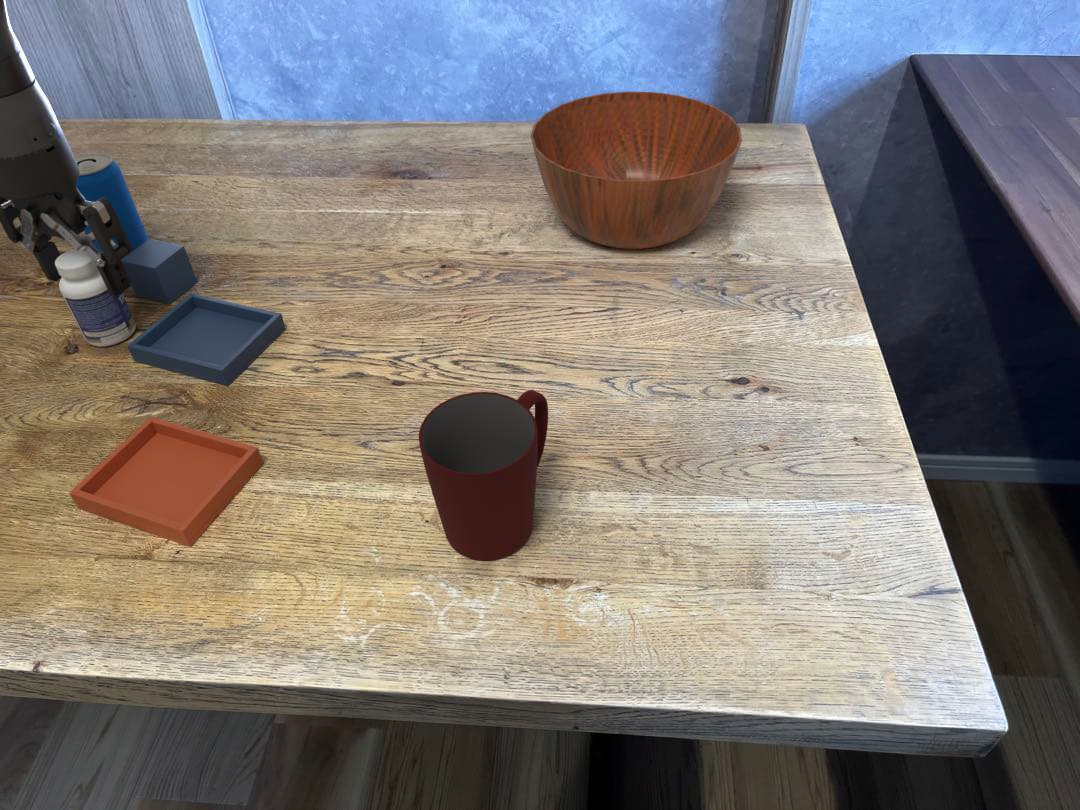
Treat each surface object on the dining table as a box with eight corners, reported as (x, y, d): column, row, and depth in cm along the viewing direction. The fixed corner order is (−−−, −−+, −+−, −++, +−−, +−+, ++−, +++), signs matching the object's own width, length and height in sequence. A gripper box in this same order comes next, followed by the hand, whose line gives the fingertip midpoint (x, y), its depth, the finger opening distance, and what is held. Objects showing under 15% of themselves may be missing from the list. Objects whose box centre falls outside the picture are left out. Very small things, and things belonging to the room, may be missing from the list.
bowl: (684, 292, 92) (694, 200, 85) (497, 240, 102) (490, 154, 94) (757, 196, 108) (770, 111, 100) (589, 159, 118) (589, 79, 110)
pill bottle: (146, 332, 90) (112, 256, 84) (98, 355, 87) (59, 278, 81) (124, 313, 93) (90, 238, 87) (78, 334, 90) (38, 258, 84)
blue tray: (134, 361, 86) (126, 345, 85) (196, 307, 93) (190, 292, 92) (228, 386, 83) (222, 370, 81) (286, 328, 90) (281, 313, 88)
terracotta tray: (78, 508, 71) (68, 492, 70) (158, 432, 78) (150, 416, 77) (190, 547, 68) (182, 531, 66) (264, 463, 75) (257, 447, 73)
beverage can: (144, 233, 106) (108, 145, 98) (157, 255, 102) (120, 165, 94) (92, 249, 104) (51, 160, 96) (103, 271, 100) (61, 181, 92)
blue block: (135, 297, 95) (119, 260, 92) (164, 274, 99) (150, 238, 95) (169, 305, 94) (154, 268, 91) (198, 282, 97) (184, 245, 94)
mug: (508, 451, 75) (500, 357, 67) (585, 496, 70) (586, 401, 63) (414, 532, 68) (393, 438, 61) (493, 587, 64) (481, 493, 56)
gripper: (-74, 144, 75) (11, 291, 85) (42, 164, 70) (116, 317, 81) (-7, 111, 80) (66, 254, 91) (105, 128, 75) (167, 276, 86)
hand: (90, 284), depth 86 cm, fingers open, 8 cm apart
